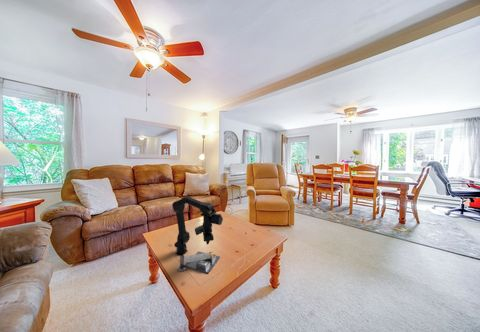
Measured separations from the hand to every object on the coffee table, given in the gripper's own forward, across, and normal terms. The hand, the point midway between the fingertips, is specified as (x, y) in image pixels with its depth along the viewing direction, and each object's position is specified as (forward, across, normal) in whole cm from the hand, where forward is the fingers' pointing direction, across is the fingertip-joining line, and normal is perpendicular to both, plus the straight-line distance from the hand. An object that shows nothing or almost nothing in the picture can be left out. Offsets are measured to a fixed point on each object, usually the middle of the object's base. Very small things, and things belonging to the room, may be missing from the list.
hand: (207, 244), depth 107 cm
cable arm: (+7, +4, -6) cm, 10 cm away
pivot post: (+12, +4, -16) cm, 20 cm away
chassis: (+11, +2, -3) cm, 12 cm away
